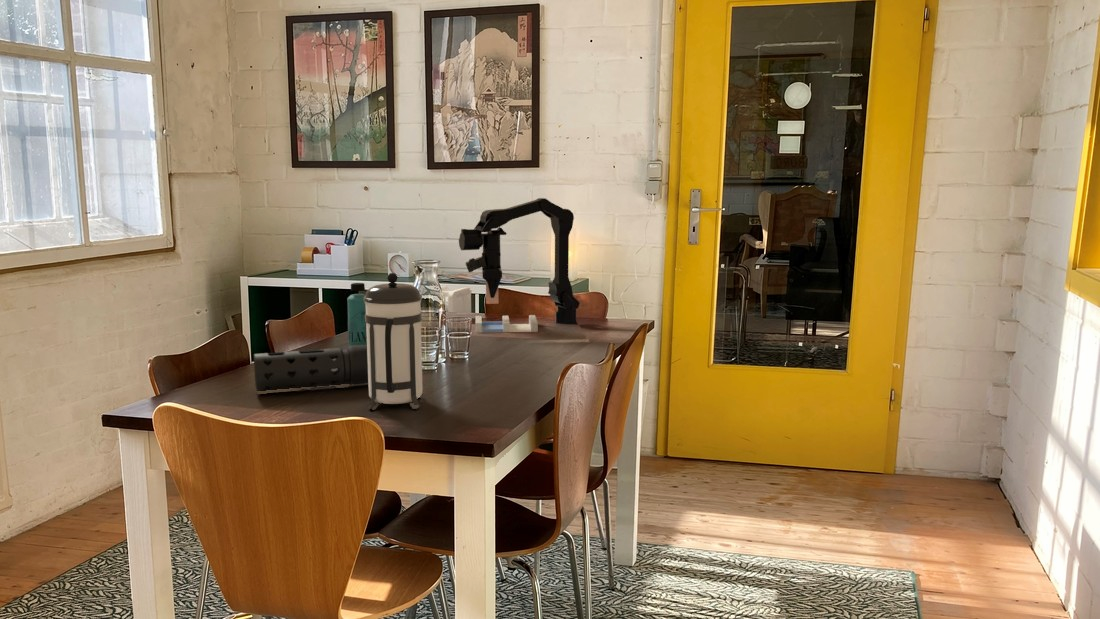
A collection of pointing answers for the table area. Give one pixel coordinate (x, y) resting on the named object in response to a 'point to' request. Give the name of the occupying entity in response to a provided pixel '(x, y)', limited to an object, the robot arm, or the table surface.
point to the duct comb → (506, 325)
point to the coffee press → (394, 342)
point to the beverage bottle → (357, 316)
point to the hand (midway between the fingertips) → (492, 296)
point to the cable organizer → (457, 300)
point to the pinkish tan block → (488, 297)
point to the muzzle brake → (311, 368)
